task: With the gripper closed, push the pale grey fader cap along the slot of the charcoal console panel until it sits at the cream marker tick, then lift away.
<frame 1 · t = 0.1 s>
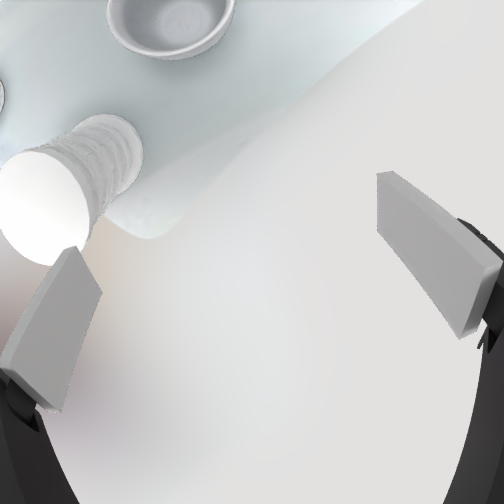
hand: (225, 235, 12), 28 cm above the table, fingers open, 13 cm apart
mug: (192, 18, 27), on the table
decorative container: (104, 154, 35), on the table
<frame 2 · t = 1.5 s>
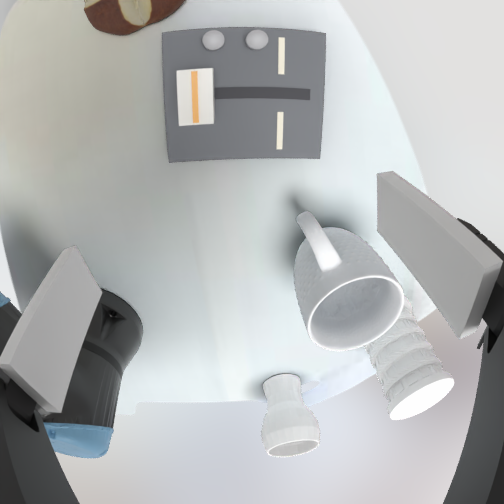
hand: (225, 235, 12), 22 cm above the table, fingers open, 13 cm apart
mug: (320, 242, 39), on the table
console: (244, 91, 28), on the table
fader cap: (197, 95, 24), point 4 cm above the table, slide at 0.0 cm
decorative container: (381, 317, 49), on the table
cup: (281, 382, 57), on the table
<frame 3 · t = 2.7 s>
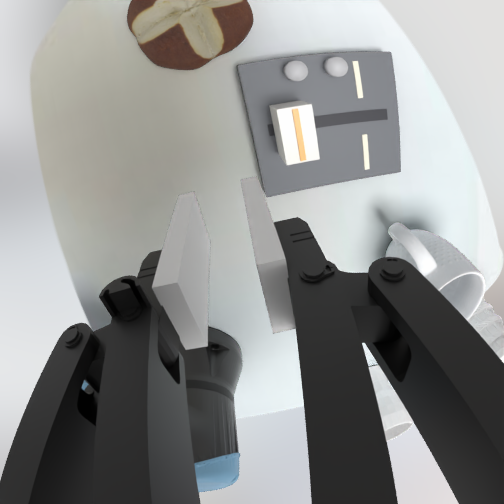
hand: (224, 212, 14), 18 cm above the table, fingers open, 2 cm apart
mug: (401, 244, 39), on the table
console: (325, 117, 29), on the table
fader cap: (294, 131, 25), point 4 cm above the table, slide at 0.0 cm
bread: (191, 20, 22), on the table
decorative container: (452, 298, 48), on the table
cup: (368, 374, 57), on the table
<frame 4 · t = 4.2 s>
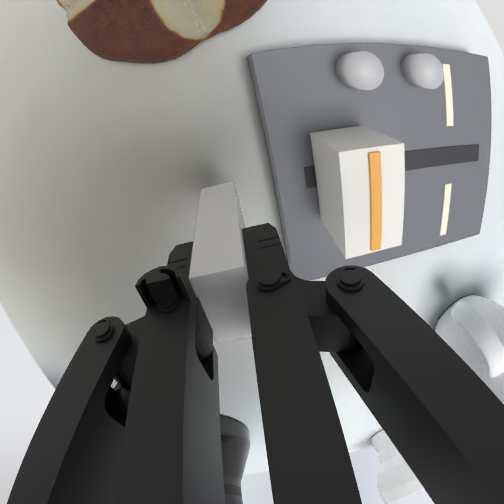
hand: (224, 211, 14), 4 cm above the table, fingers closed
mug: (454, 311, 27), on the table
console: (391, 151, 17), on the table
fader cap: (357, 187, 14), point 4 cm above the table, slide at 0.0 cm
cup: (389, 430, 45), on the table
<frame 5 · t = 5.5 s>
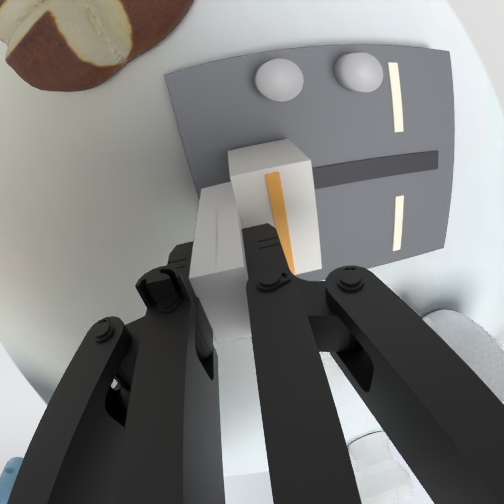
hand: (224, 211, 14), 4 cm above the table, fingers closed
mug: (424, 325, 27), on the table
console: (333, 162, 17), on the table
fader cap: (273, 207, 14), point 4 cm above the table, slide at 0.1 cm, touching gripper
bread: (98, 2, 11), on the table
cup: (367, 439, 46), on the table
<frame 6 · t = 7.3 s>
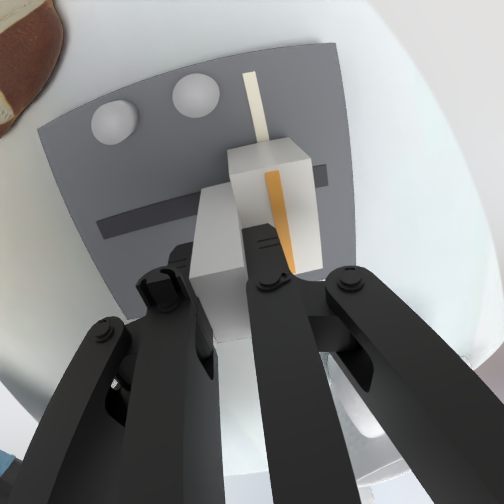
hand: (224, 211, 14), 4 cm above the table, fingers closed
mug: (362, 346, 27), on the table
console: (207, 187, 17), on the table
fader cap: (273, 206, 13), point 4 cm above the table, slide at 7.7 cm, touching gripper
bread: (2, 58, 11), on the table
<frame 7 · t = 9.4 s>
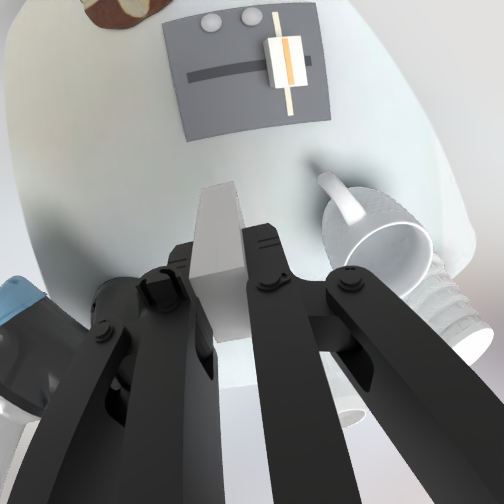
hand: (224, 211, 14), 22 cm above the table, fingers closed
mug: (344, 204, 39), on the table
console: (248, 67, 28), on the table
fader cap: (284, 62, 24), point 4 cm above the table, slide at 7.7 cm
decorative container: (414, 276, 47), on the table
cup: (323, 356, 57), on the table
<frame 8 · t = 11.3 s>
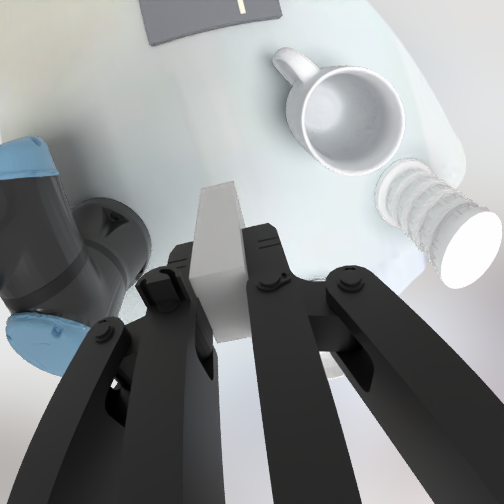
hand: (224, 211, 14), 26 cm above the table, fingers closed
mug: (311, 100, 35), on the table
decorative container: (404, 191, 44), on the table
cup: (315, 295, 53), on the table
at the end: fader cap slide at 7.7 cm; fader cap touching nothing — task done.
